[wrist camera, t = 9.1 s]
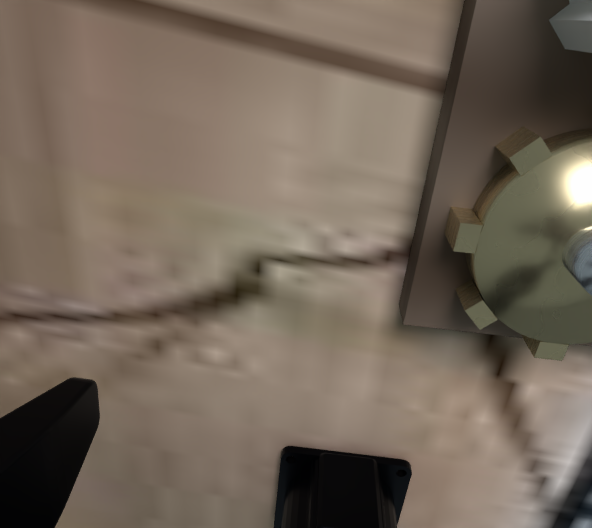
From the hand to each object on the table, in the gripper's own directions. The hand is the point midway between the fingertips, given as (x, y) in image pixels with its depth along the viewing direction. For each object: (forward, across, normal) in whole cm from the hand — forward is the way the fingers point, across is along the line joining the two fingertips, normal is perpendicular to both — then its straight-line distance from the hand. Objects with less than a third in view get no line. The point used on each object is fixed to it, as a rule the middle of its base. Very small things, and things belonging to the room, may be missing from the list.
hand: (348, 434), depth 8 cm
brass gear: (+10, -8, -1) cm, 13 cm away
